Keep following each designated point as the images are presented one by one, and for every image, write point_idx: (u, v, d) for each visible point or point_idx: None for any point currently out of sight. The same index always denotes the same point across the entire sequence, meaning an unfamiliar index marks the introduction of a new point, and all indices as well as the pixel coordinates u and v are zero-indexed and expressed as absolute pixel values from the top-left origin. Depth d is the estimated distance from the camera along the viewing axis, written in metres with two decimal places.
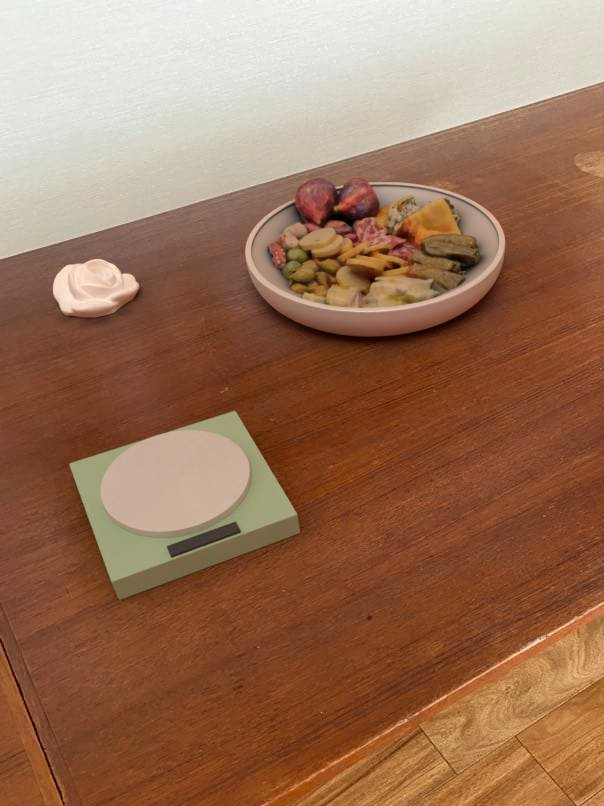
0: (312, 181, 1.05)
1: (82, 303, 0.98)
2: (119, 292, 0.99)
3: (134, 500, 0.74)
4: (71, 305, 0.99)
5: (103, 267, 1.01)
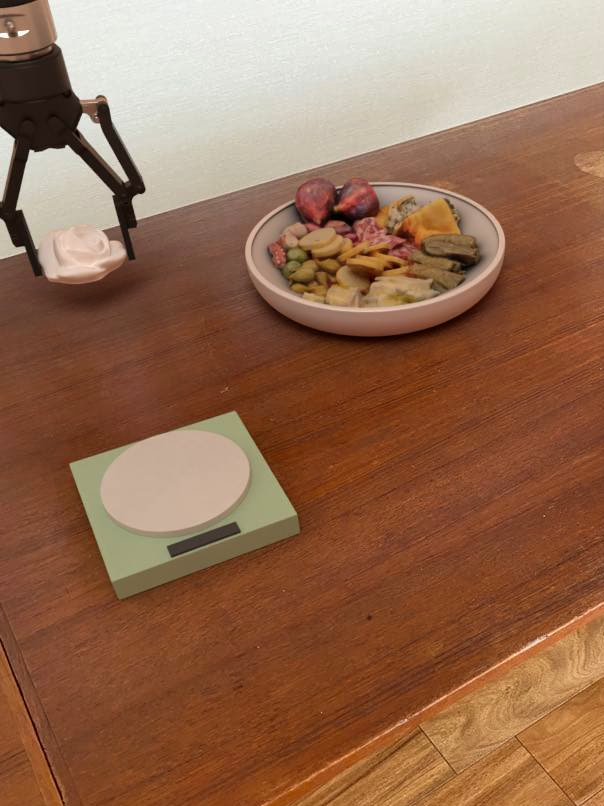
0: (312, 181, 1.05)
1: (68, 269, 0.95)
2: (106, 258, 0.96)
3: (134, 500, 0.74)
4: (57, 271, 0.96)
5: (90, 233, 0.98)
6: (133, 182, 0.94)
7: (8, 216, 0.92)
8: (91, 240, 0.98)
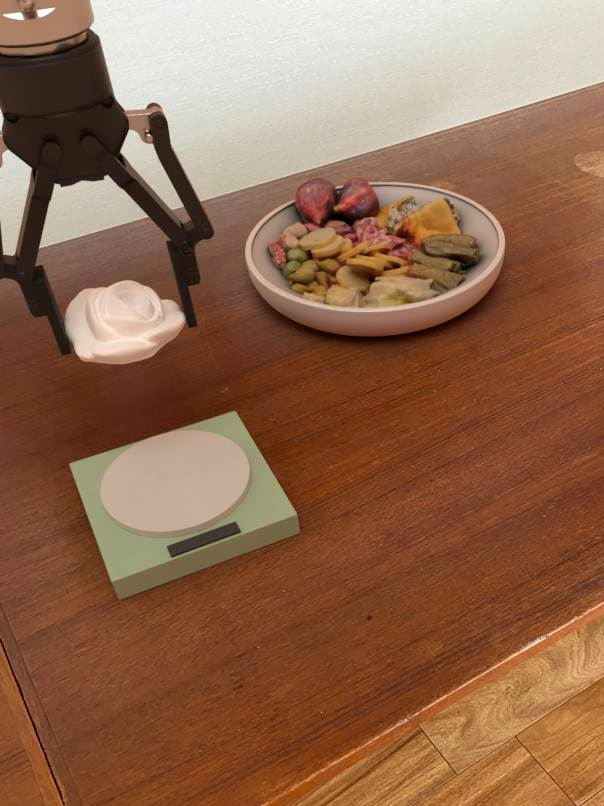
0: (312, 181, 1.05)
1: (107, 345, 0.69)
2: (160, 328, 0.69)
3: (134, 500, 0.74)
4: (92, 347, 0.69)
5: (136, 292, 0.71)
6: (197, 224, 0.67)
7: (24, 276, 0.65)
8: (137, 302, 0.71)
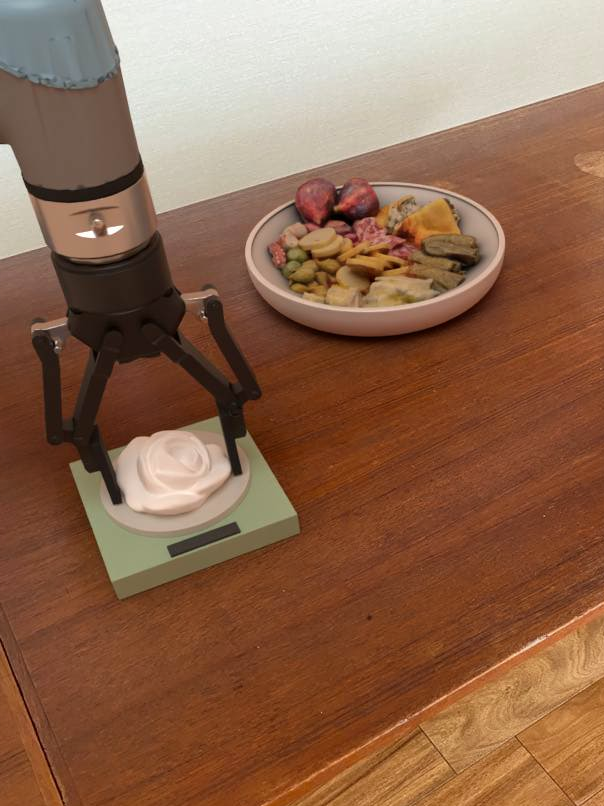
0: (312, 181, 1.05)
1: (158, 499, 0.72)
2: (208, 481, 0.72)
3: None
4: (143, 501, 0.72)
5: (184, 444, 0.74)
6: (246, 388, 0.70)
7: (81, 441, 0.68)
8: (185, 453, 0.74)
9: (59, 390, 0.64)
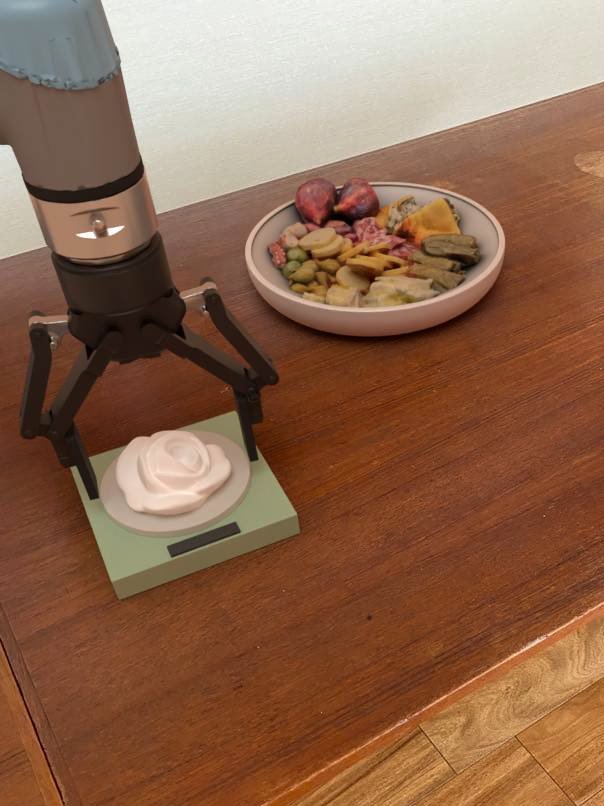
0: (312, 181, 1.05)
1: (158, 499, 0.72)
2: (208, 482, 0.72)
3: None
4: (143, 501, 0.72)
5: (185, 444, 0.74)
6: (263, 374, 0.69)
7: (56, 435, 0.67)
8: (186, 453, 0.74)
9: (45, 385, 0.64)
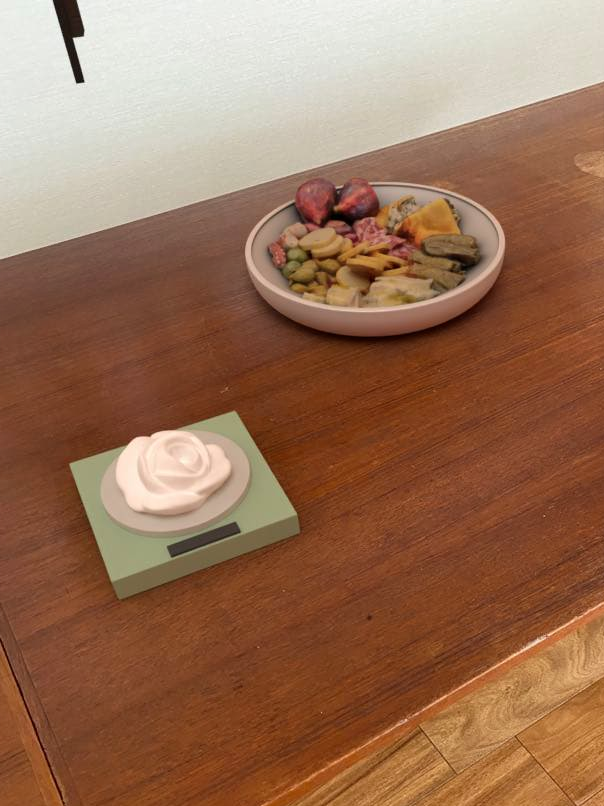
0: (312, 181, 1.05)
1: (158, 499, 0.72)
2: (208, 482, 0.72)
3: None
4: (143, 501, 0.72)
5: (185, 444, 0.74)
6: None
7: None
8: (186, 453, 0.74)
9: None
